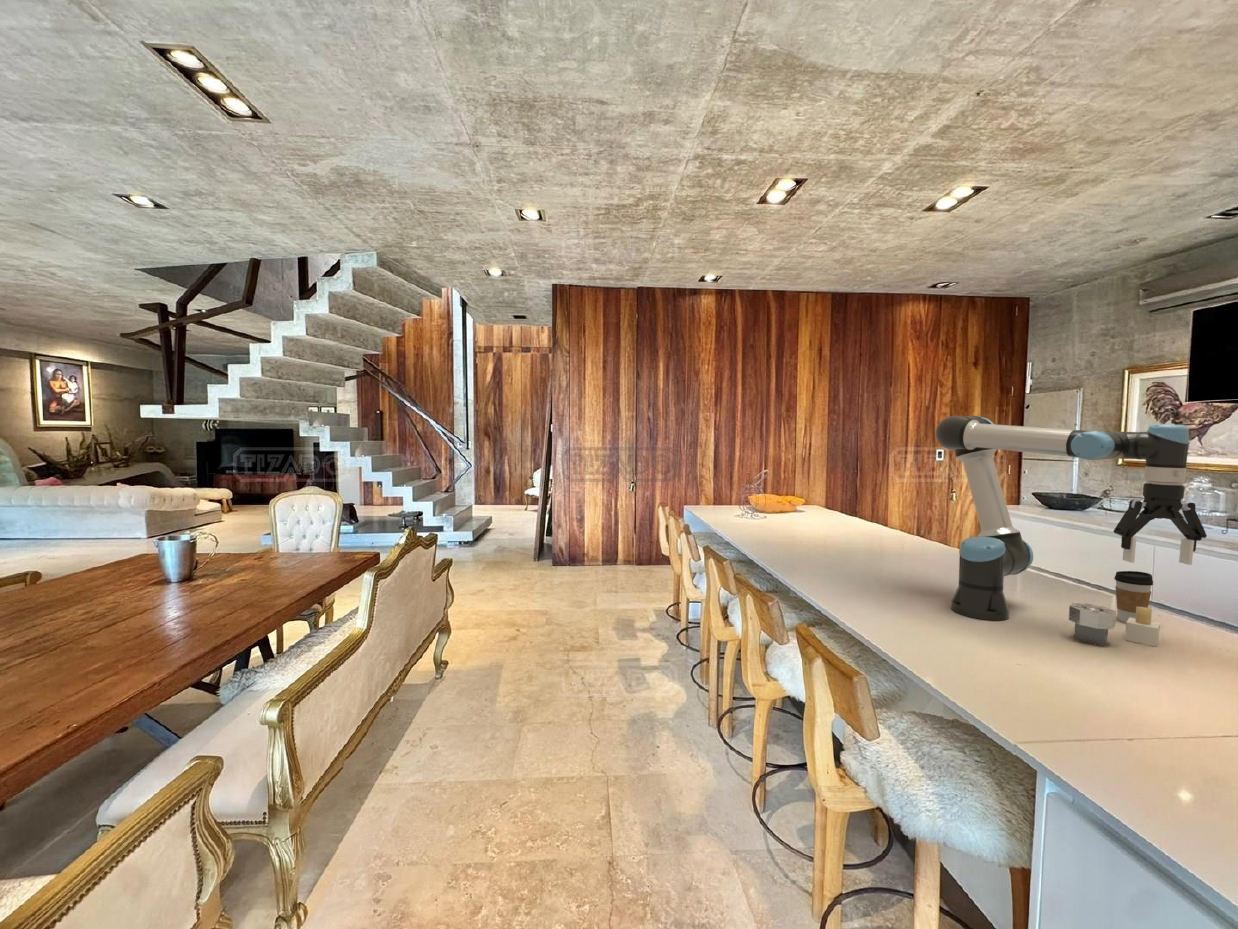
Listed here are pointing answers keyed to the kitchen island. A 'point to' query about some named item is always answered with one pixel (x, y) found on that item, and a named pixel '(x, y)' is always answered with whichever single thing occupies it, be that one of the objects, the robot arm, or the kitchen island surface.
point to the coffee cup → (1132, 592)
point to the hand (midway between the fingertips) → (1156, 562)
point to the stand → (1091, 632)
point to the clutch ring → (1092, 616)
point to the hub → (1142, 628)
